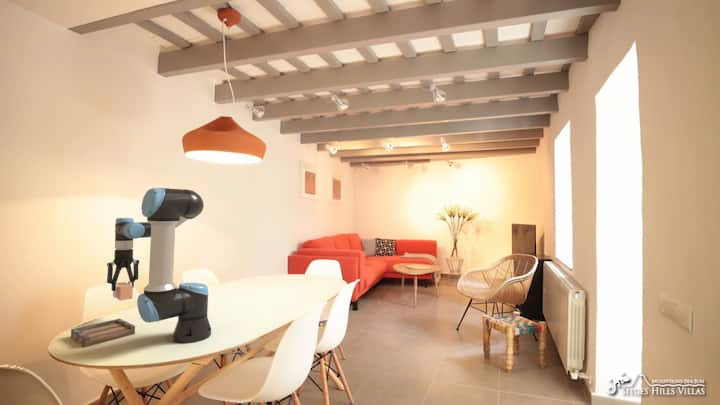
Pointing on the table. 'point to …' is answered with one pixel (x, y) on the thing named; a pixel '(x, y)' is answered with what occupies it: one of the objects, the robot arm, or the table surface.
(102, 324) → the wooden tray
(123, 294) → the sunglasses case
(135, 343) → the table surface
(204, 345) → the table surface
